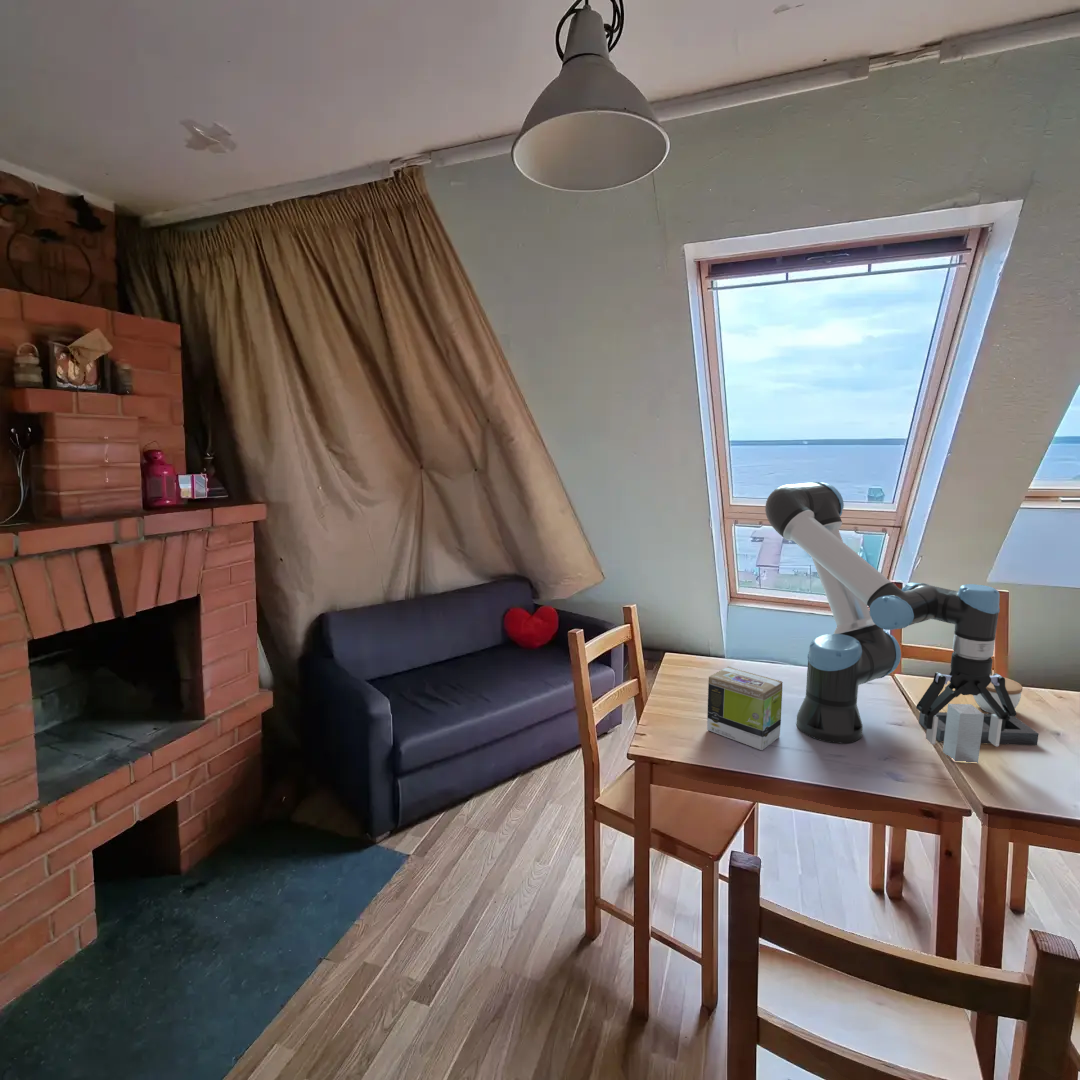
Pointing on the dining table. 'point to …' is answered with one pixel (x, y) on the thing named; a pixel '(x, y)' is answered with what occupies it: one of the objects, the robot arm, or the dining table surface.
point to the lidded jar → (1012, 689)
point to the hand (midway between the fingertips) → (961, 742)
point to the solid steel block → (963, 732)
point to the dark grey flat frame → (1012, 733)
